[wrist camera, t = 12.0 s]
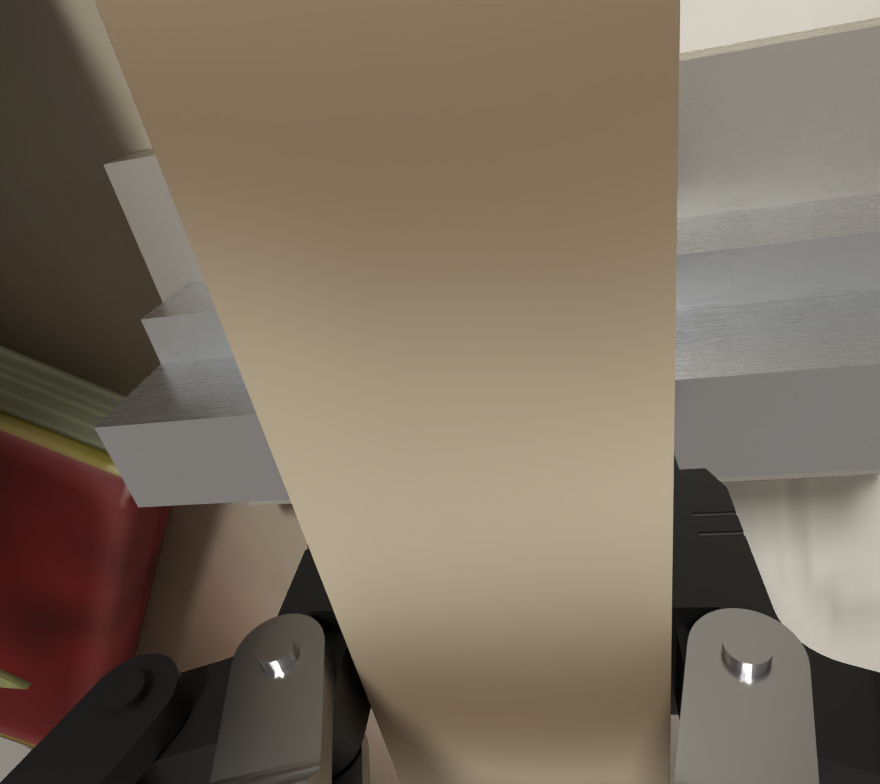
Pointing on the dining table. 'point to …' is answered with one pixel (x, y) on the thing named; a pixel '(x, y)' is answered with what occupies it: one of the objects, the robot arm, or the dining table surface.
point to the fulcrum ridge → (697, 288)
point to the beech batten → (452, 343)
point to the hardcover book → (64, 547)
